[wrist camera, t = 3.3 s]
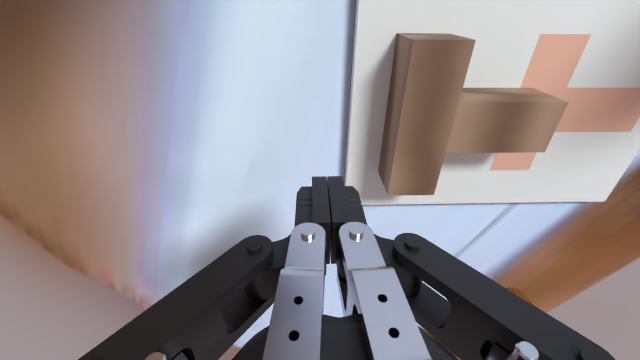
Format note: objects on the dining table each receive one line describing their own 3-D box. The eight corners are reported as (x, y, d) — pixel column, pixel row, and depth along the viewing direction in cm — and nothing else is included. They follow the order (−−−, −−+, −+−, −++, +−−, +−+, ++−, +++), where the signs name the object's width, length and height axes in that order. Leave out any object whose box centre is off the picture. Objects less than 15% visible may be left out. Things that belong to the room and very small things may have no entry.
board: (343, 198, 31) (344, 205, 30) (358, -33, 20) (361, -35, 19) (595, 194, 32) (604, 201, 31) (736, -28, 21) (758, -29, 20)
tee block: (377, 171, 28) (387, 195, 24) (396, 33, 21) (413, 39, 18) (499, 170, 28) (525, 193, 25) (553, 34, 22) (598, 40, 18)
